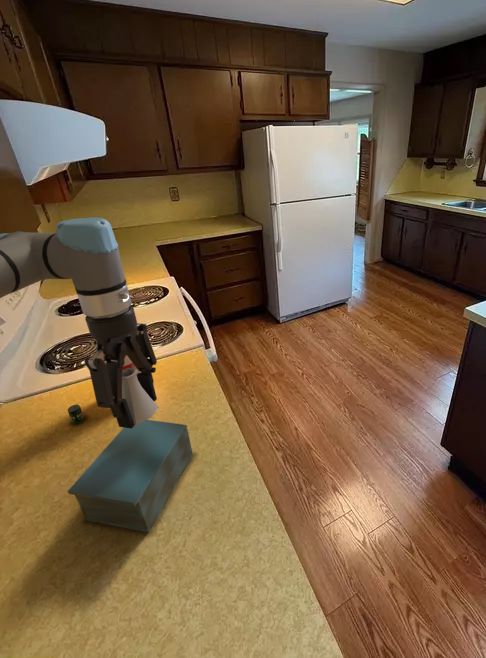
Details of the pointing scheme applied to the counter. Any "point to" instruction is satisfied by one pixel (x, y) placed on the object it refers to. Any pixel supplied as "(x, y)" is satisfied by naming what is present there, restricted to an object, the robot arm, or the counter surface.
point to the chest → (151, 499)
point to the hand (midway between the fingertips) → (139, 412)
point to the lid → (129, 463)
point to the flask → (136, 397)
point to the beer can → (75, 414)
